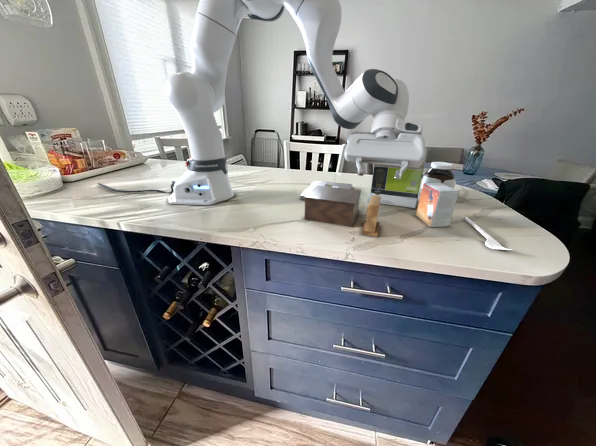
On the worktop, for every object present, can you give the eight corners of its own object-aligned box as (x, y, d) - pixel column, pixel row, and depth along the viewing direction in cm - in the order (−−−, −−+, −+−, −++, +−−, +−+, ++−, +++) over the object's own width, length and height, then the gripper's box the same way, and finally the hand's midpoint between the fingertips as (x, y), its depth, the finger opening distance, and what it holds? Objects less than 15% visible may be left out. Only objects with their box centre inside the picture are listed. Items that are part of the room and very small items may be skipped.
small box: (415, 215, 75) (422, 182, 70) (432, 215, 75) (441, 182, 71) (430, 227, 67) (439, 191, 63) (449, 226, 68) (460, 190, 63)
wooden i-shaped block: (361, 234, 64) (365, 203, 60) (365, 223, 70) (368, 195, 66) (377, 237, 62) (382, 206, 59) (379, 226, 68) (384, 197, 65)
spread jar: (420, 195, 92) (427, 164, 87) (419, 187, 101) (425, 158, 96) (456, 199, 88) (466, 167, 83) (451, 190, 97) (460, 161, 92)
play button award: (300, 195, 87) (314, 180, 104) (300, 199, 88) (314, 184, 105) (345, 200, 83) (352, 184, 100) (345, 204, 83) (352, 187, 101)
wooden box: (303, 219, 72) (303, 197, 69) (316, 205, 83) (316, 185, 80) (352, 227, 68) (354, 203, 65) (358, 211, 78) (361, 190, 75)
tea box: (416, 199, 87) (425, 158, 81) (415, 209, 79) (425, 163, 73) (373, 194, 93) (378, 154, 87) (368, 202, 85) (374, 159, 79)
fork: (470, 219, 72) (472, 214, 71) (512, 257, 54) (515, 249, 53) (459, 219, 73) (460, 213, 72) (496, 255, 55) (499, 248, 54)
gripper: (348, 124, 68) (338, 166, 64) (429, 126, 61) (423, 173, 57) (350, 139, 74) (340, 178, 70) (424, 142, 67) (418, 186, 63)
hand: (378, 176), depth 64 cm, fingers open, 8 cm apart
